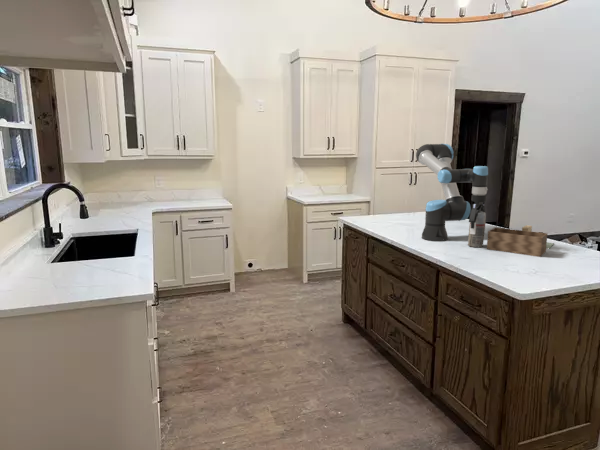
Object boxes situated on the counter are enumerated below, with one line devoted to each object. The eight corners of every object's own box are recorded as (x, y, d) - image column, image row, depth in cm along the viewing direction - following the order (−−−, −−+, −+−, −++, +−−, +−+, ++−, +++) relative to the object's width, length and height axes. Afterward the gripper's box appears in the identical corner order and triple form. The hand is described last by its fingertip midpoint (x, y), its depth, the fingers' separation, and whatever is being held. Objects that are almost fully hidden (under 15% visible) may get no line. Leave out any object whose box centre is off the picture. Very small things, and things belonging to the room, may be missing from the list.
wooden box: (486, 249, 226) (488, 231, 224) (493, 244, 235) (495, 227, 233) (540, 256, 209) (542, 237, 207) (545, 251, 218) (547, 233, 216)
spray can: (484, 245, 234) (487, 210, 230) (482, 248, 227) (485, 212, 223) (468, 243, 238) (471, 209, 235) (466, 246, 232) (468, 211, 228)
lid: (498, 242, 242) (499, 225, 240) (504, 238, 251) (506, 222, 249) (548, 249, 224) (550, 231, 222) (553, 245, 233) (555, 227, 231)
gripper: (478, 197, 216) (476, 236, 219) (493, 192, 234) (491, 229, 238) (464, 196, 220) (461, 234, 224) (479, 191, 239) (477, 227, 243)
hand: (476, 232), depth 231 cm, fingers open, 13 cm apart
